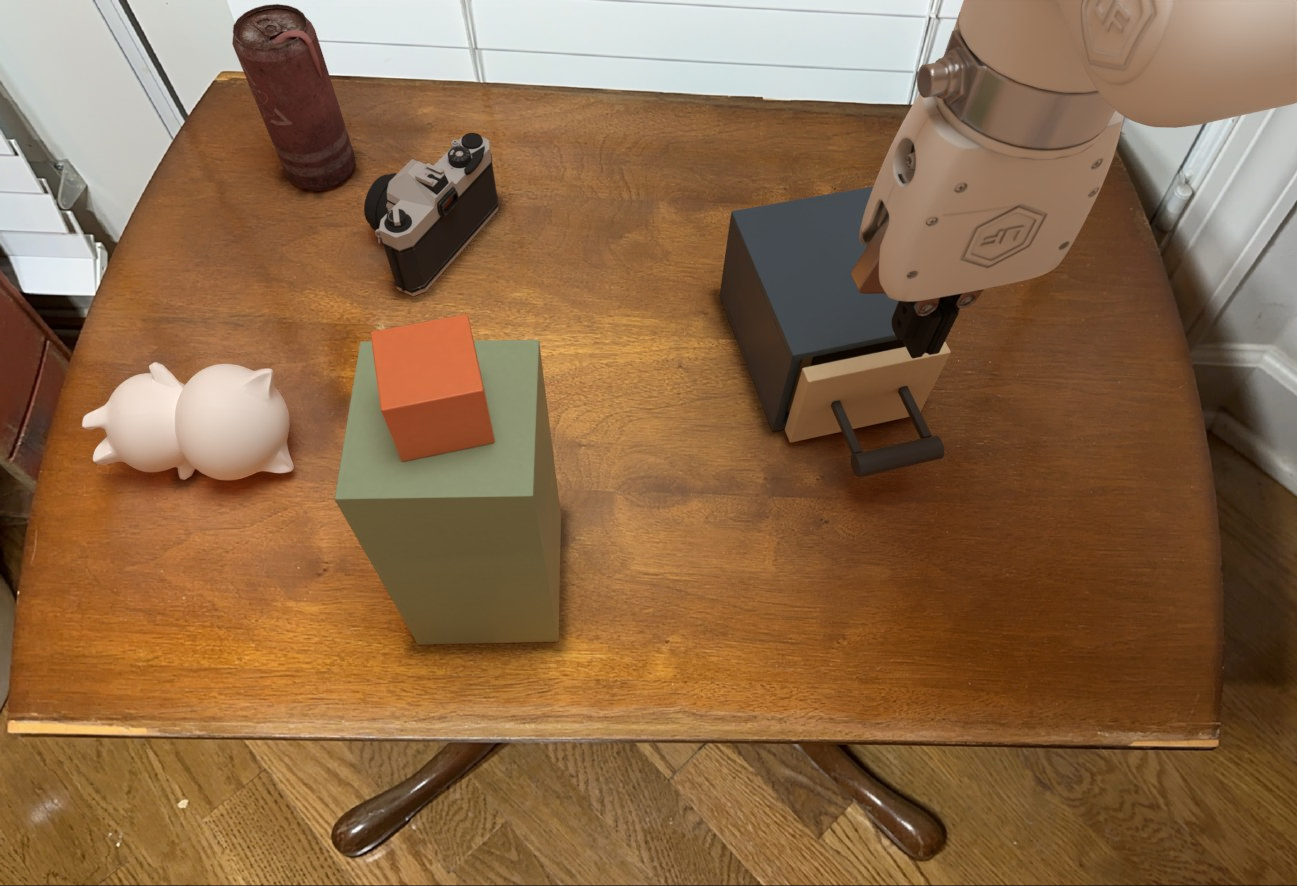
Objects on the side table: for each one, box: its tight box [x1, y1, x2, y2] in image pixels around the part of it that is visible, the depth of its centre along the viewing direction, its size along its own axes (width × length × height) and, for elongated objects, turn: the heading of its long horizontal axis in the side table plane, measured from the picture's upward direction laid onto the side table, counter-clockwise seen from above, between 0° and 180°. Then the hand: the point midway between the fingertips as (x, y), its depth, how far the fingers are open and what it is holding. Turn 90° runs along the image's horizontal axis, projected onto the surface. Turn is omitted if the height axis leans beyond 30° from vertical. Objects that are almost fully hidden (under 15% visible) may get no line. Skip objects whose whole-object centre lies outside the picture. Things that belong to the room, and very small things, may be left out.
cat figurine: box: [81, 361, 295, 481], centre depth 64 cm, size 9×11×12 cm
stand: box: [334, 339, 562, 646], centre depth 53 cm, size 9×9×20 cm
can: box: [231, 3, 356, 192], centre depth 75 cm, size 6×6×14 cm
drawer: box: [784, 340, 951, 478], centre depth 65 cm, size 18×10×8 cm, turn 15°
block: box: [370, 313, 495, 462], centre depth 42 cm, size 4×4×4 cm
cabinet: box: [719, 185, 899, 432], centre depth 68 cm, size 13×11×9 cm
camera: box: [363, 132, 499, 297], centre depth 73 cm, size 13×8×9 cm, turn 154°
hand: (914, 337), depth 55 cm, fingers closed
